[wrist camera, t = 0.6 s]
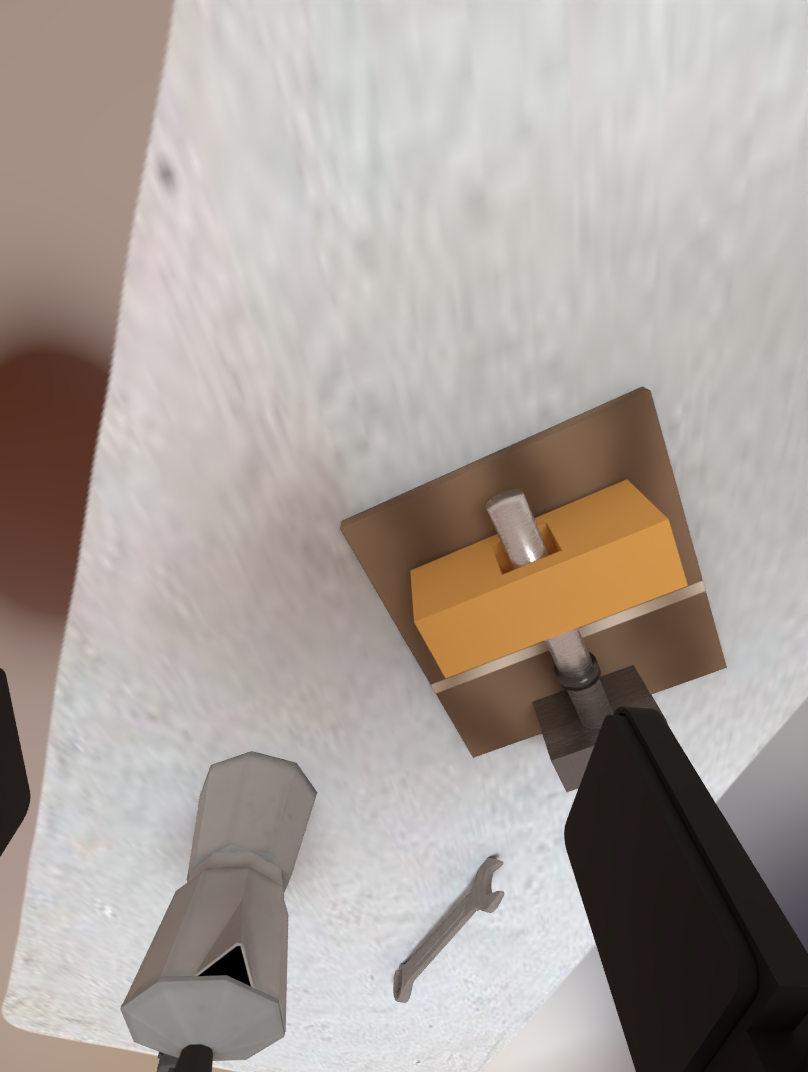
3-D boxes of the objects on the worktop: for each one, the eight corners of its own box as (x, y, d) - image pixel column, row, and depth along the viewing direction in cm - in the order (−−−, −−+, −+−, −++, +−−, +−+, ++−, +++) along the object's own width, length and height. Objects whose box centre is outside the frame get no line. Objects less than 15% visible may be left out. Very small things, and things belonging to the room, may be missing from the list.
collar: (627, 479, 32) (668, 519, 27) (645, 538, 33) (687, 585, 29) (410, 570, 34) (414, 622, 29) (437, 621, 35) (445, 678, 31)
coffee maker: (222, 718, 40) (112, 1033, 24) (342, 751, 42) (314, 1065, 26) (174, 850, 46) (61, 1173, 30) (281, 874, 48) (228, 1192, 32)
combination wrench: (402, 1016, 53) (517, 896, 44) (389, 1013, 52) (502, 891, 44) (402, 969, 56) (508, 849, 48) (390, 966, 56) (495, 845, 47)
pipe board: (642, 386, 31) (650, 391, 30) (718, 657, 39) (727, 668, 38) (341, 521, 34) (340, 529, 33) (471, 746, 42) (473, 758, 41)
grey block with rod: (555, 452, 31) (583, 486, 27) (645, 696, 39) (678, 754, 35) (436, 504, 32) (444, 545, 28) (546, 731, 40) (566, 792, 36)
